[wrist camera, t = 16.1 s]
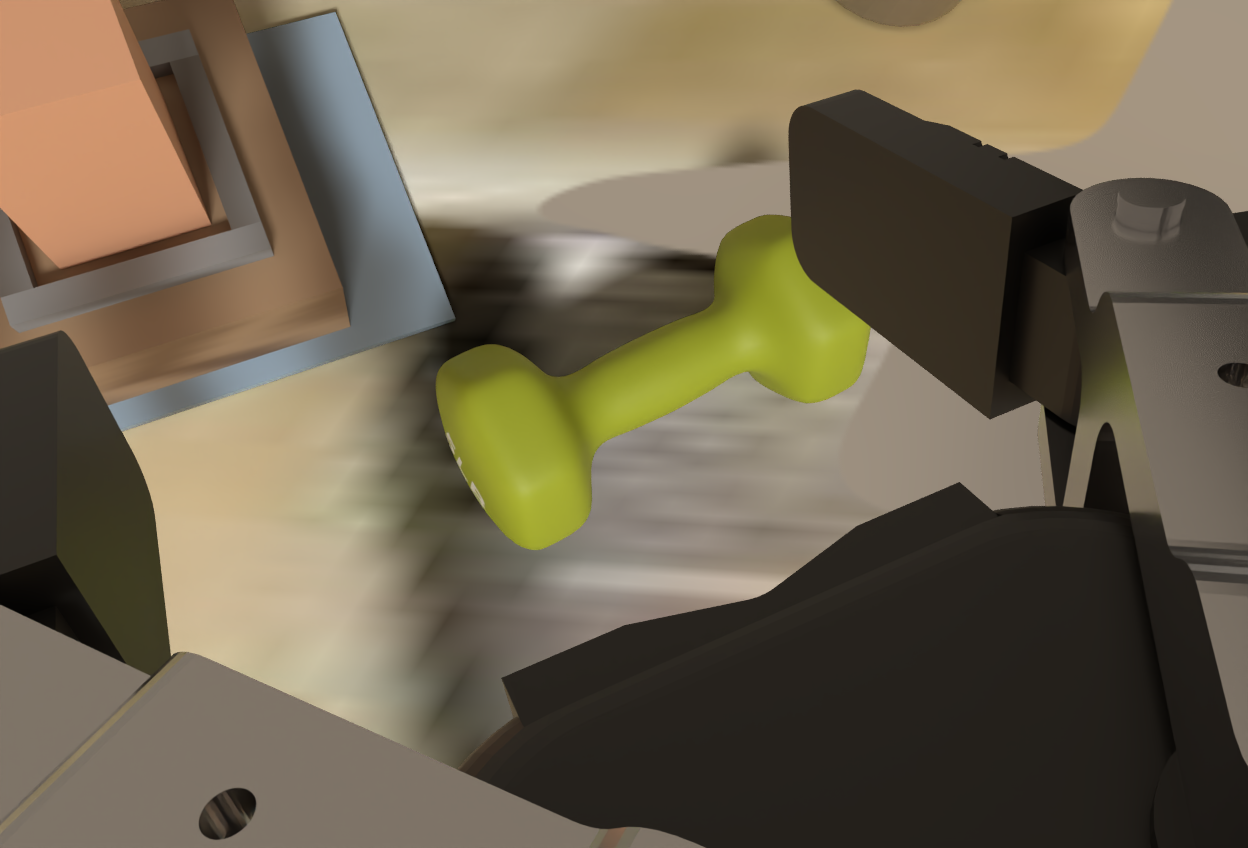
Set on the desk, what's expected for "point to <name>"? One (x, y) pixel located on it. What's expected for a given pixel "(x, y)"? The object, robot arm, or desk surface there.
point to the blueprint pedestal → (242, 227)
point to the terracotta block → (87, 134)
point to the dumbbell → (641, 383)
